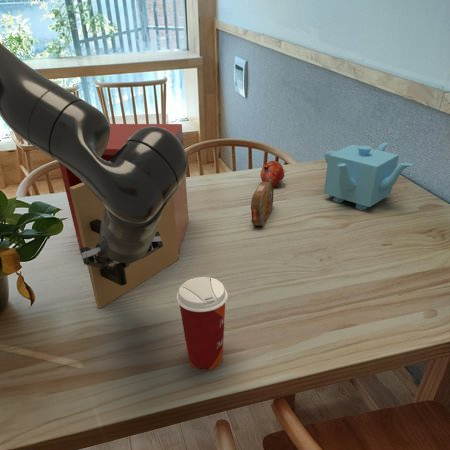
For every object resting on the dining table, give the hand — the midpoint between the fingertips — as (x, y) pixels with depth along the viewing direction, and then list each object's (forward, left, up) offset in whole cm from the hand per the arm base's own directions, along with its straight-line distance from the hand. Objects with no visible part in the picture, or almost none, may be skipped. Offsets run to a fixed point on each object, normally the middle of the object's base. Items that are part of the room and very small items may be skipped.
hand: (118, 263), depth 79 cm
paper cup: (+16, -12, -11) cm, 23 cm away
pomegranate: (+28, +64, -11) cm, 71 cm away
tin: (+25, +41, -11) cm, 49 cm away
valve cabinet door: (+3, +8, -10) cm, 13 cm away
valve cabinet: (-5, +29, -10) cm, 31 cm away
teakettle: (+52, +53, -11) cm, 75 cm away
